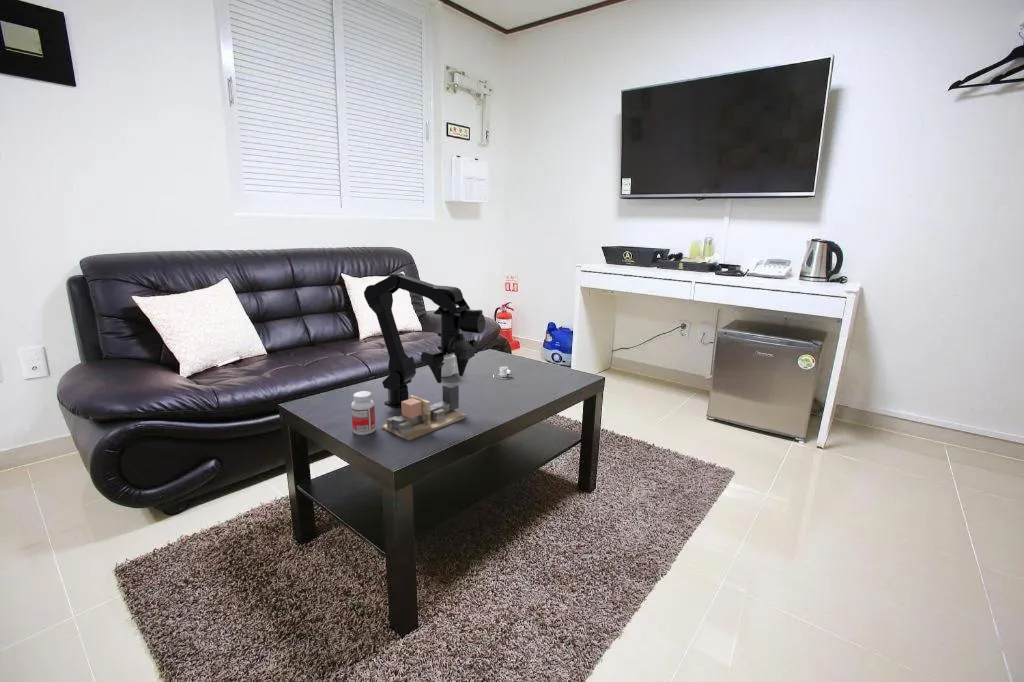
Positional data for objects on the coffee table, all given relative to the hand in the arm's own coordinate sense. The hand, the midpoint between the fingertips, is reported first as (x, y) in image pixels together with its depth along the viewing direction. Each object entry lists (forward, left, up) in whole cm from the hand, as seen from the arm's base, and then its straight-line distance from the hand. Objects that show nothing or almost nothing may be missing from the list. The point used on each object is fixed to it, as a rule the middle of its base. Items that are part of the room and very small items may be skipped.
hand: (450, 379), depth 145 cm
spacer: (0, -15, -7) cm, 17 cm away
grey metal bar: (0, -9, -9) cm, 13 cm away
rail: (0, -10, -11) cm, 15 cm away
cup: (-29, +26, -11) cm, 40 cm away
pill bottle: (-8, -26, -11) cm, 29 cm away
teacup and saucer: (-10, +42, -12) cm, 45 cm away
